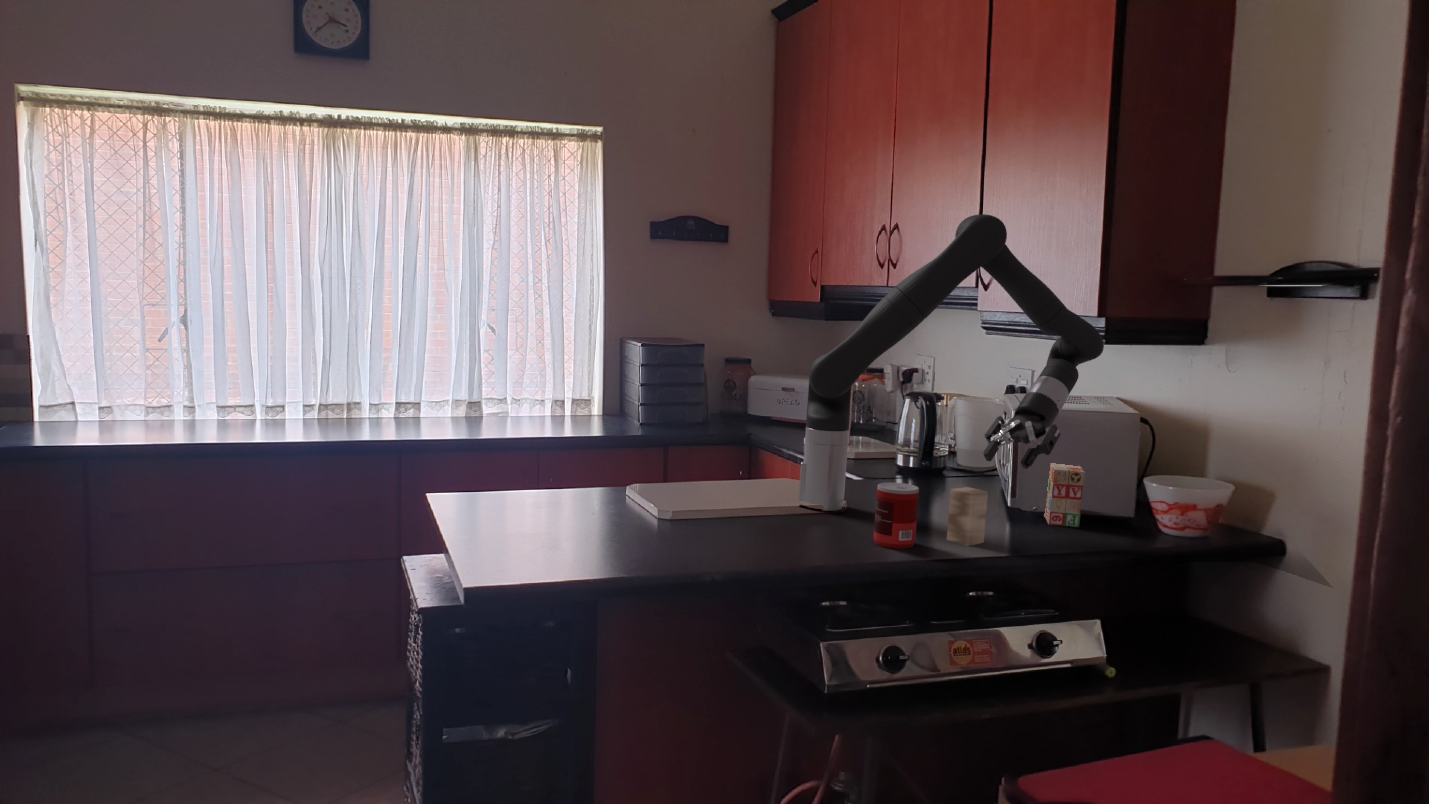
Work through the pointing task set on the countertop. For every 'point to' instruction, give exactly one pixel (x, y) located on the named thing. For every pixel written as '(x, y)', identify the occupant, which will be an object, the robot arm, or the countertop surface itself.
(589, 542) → the countertop surface
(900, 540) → the canned food
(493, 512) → the countertop surface
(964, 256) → the robot arm
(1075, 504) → the stack of blocks
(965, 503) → the oak block
